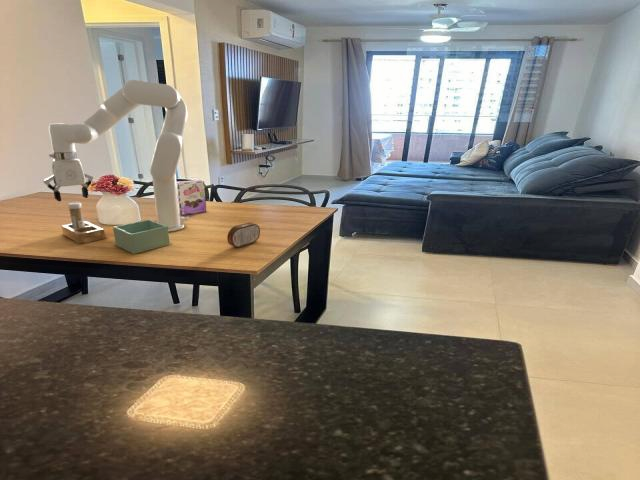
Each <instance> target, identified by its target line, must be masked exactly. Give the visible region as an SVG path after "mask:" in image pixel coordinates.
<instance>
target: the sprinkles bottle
mask: <svg viewBox="0 0 640 480" xmlns="http://www.w3.org/2000/svg"><path fill="white" fill-rule="evenodd" d="M82 206H83V205H82V203H81V202H77V201H76V202H69V203H67V207H68V210H69V214H70V221H71V224H72V226H73V229H74V228H79V227H84V226H85V224H84V221H85V220H84V219H85V218H84V215H83V210H82V208H83V207H82Z"/></svg>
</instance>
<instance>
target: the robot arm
mask: <svg viewBox="0 0 640 480" xmlns="http://www.w3.org/2000/svg"><path fill="white" fill-rule="evenodd" d="M122 86H123V87H121V88H120V89H119V90H118V91H116V92H115V93H113V95H111V96H110V97H108V98H107V99H106V100H104V101H103V102H102V103H101V105H100V107H99V108H98V109H97V111H96V112H95V113H93V114H92V115H90V116H89V117H88V118H87V119H86V120H84V121H83V122H82V123H75V124H74V123H73V124H69V123H63V122H62V123H60V122H57V123H55V122H53V123H50V124H49V125H48V132H49V137H50V143H51V150H52V152H51V153H49V154H48V156H49V158H53V159H52V162H51V163H52V165H51V166H52V167H51V171H52V175H51V176H49V177H47V178H45V179H43V181H42V182H43V183H44V184H45V186H46V187H47V188H48V189H50V190H52V191H53V196H54V199H55V200H56V201H57V202H62V196H61V192H60V189H61V188H62V187H71V186H73V187H74V186H81V193H82V197H83V198H85V199H88V198H89V197H88V196H89V189H88V188H89V187H90V185H92V181H93V179H94V176H92V175H89V174H86V173H85V172H84V169H83V165H82V162H81V160H80V159H79V158H78V157H77V149H76V144H82V145H85V144H90V143H93V142H94V141H96V140H98V138H100V137H101V136H102V135H103V134H105V133H106V132H107V131H109V130H110V129H111V128H112V127H114V126H115V125H117V124H119V123H120V122H121V121H122V120H124V119H125V118H126V117H128V116H129V115H130V114H131V113H133V112H134V111H135V110H137V109H138V108H139V107H141V106H150V107H157V108H158V107H159V108H164V109H165V116H164V120H163V125H162V127H161V131H160V134H159V136H158V137H157V140H156V144H155V148H154V152H153V156H152V160H151V162H150V166H149V173H150V176H151V178H152V187H153V198H154V205H155V215H156V222H157V223H160V224H163V225H165V226H168V233H169V232H176V231H180V230H183V229H184V228H185V223H184V222H188V221H190V220H191V217H190V216H189V215H187V216H181V215H179V205H178V194H177V183H176V182H177V172H176V171H177V169H178V164H179V160H180V157H181V153H182V151H183V138H184V135H185V129H186V126H187V121H188V108H187V104H186V102H185V100H184V99H183V97H182V96H181V94H180V93H179V92H178V90H177V89H176V87H174V86H172V85H170V84H166V83H157V82H151V81H142V80H137V79H130V80H128V81H126V82H125V83H124V85H122ZM86 179H87V180H86ZM52 181H53V185H52V184H51V183H50V182H52Z"/></svg>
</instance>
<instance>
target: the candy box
mask: <svg viewBox="0 0 640 480" xmlns="http://www.w3.org/2000/svg"><path fill="white" fill-rule="evenodd" d="M176 183H177V194H178V205H179V215H180V217H183V216H189V215H195V214H203V213H207V201H206V187H205V186H206V185H205V181H204V180H202V179H193V180H183V181H176Z"/></svg>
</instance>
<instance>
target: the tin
mask: <svg viewBox="0 0 640 480" xmlns="http://www.w3.org/2000/svg"><path fill="white" fill-rule="evenodd" d="M260 236H261V228H260V226H259V225H258V224H256V223H254V222H252V221H251V222H246V223H242V224H237V225H234V226H233V227H231V228H230V230H229V231H228V233H227V238H226V240H227V243H228V244H229V245H230V246H231V247H235V248H240V247H244V246H248V245H251V244H254V243H256V242H257V241H258V239H259V238H260Z"/></svg>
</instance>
